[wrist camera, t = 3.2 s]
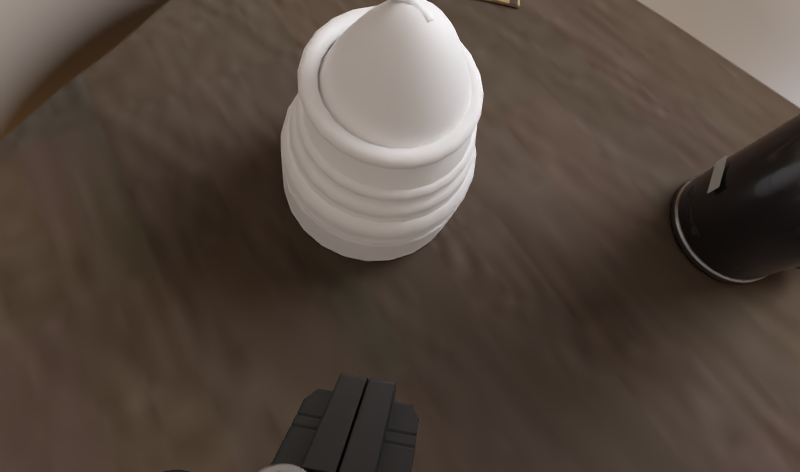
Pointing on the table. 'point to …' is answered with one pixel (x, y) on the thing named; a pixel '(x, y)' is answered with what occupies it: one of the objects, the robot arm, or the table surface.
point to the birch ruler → (507, 2)
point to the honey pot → (381, 130)
